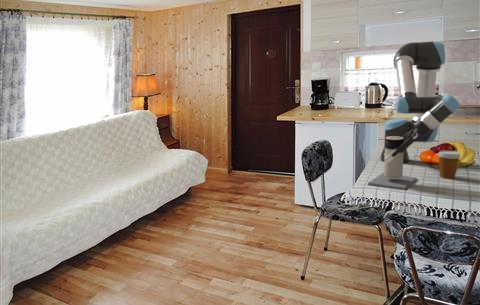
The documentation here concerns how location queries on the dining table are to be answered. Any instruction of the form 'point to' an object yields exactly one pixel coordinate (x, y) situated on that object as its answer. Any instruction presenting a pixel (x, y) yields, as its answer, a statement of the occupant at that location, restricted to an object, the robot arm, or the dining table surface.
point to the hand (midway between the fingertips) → (386, 158)
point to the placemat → (392, 182)
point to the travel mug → (396, 165)
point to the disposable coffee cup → (448, 163)
